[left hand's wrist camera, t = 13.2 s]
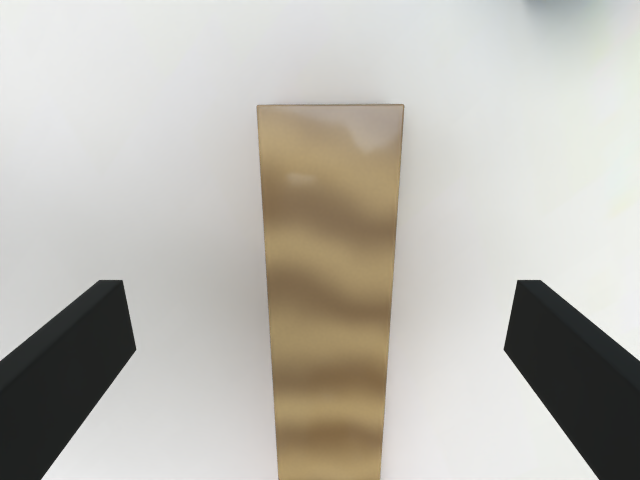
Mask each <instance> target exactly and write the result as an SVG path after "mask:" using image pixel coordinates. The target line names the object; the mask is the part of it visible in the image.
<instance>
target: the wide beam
mask: <svg viewBox="0 0 640 480" xmlns="http://www.w3.org/2000/svg"><path fill="white" fill-rule="evenodd" d="M403 118H404V104H279V105H257V121H258V138H259V155H260V172H261V189H262V206H263V223H264V240H265V257H266V274H267V291H268V309H269V326H270V343H271V360H272V377H273V394H274V411H275V428H276V445H277V462H278V479H279V480H380V471H381V456H382V441H383V425H384V410H385V395H386V379H387V364H388V349H389V333H390V318H391V302H392V287H393V272H394V256H395V241H396V226H397V210H398V195H399V180H400V164H401V149H402V134H403Z"/></svg>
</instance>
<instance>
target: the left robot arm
mask: <svg viewBox="0 0 640 480" xmlns="http://www.w3.org/2000/svg"><path fill="white" fill-rule="evenodd" d="M135 351H136V346H135V341H134V336H133V330H132V325H131V320H130V315H129V310H128V305H127V300H126V295H125V290H124V285H123V280H99V281H98V282H97V283H95V284H94V285H93V286H92V287H90V288H89V289H88V290H87V291H86V292H84V293H83V294H82V295H81V296H79V297H78V298H77V299H76V300H75V301H73V302H72V303H71V304H70V305H68V306H67V307H66V308H65V309H64V310H62V311H61V312H60V313H59V314H57V315H56V316H55V317H54V318H53V319H51V320H50V321H49V322H48V323H46V324H45V325H44V326H43V327H42V328H40V329H39V330H38V331H37V332H35V333H34V334H33V335H32V336H31V337H29V338H28V339H27V340H26V341H24V342H23V343H22V344H21V345H20V346H18V347H17V348H16V349H15V350H13V351H12V352H11V353H10V354H9V355H7V356H6V357H5V358H4V359H2V360H1V361H0V480H41V479H42V477H43V476H44V475H45V473H46V472H47V471H48V469H49V468H50V467H51V465H52V464H53V462H54V461H55V460H56V458H57V457H58V456H59V454H60V453H61V452H62V450H63V449H64V447H65V446H66V445H67V443H68V442H69V441H70V439H71V438H72V437H73V435H74V434H75V433H76V431H77V430H78V428H79V427H80V426H81V424H82V423H83V422H84V420H85V419H86V418H87V416H88V415H89V413H90V412H91V411H92V409H93V408H94V407H95V405H96V404H97V403H98V401H99V400H100V398H101V397H102V396H103V394H104V393H105V392H106V390H107V389H108V388H109V386H110V385H111V384H112V382H113V381H114V379H115V378H116V377H117V375H118V374H119V373H120V371H121V370H122V369H123V367H124V366H125V364H126V363H127V362H128V360H129V359H130V358H131V356H132V355H133V354H134V352H135ZM504 351H505V352H506V354H507V355H508V356H509V358H510V359H511V360H512V362H513V363H514V364H515V366H516V367H517V369H518V370H519V371H520V373H521V374H522V375H523V377H524V378H525V379H526V381H527V382H528V384H529V385H530V386H531V388H532V389H533V390H534V392H535V393H536V394H537V396H538V397H539V398H540V400H541V401H542V403H543V404H544V405H545V407H546V408H547V409H548V411H549V412H550V413H551V415H552V416H553V418H554V419H555V420H556V422H557V423H558V424H559V426H560V427H561V428H562V430H563V431H564V433H565V434H566V435H567V437H568V438H569V439H570V441H571V442H572V443H573V445H574V446H575V447H576V449H577V450H578V452H579V453H580V454H581V456H582V457H583V458H584V460H585V461H586V462H587V464H588V465H589V467H590V468H591V469H592V471H593V472H594V473H595V475H596V476H597V477H598V479H599V480H640V361H639V360H638V359H636V358H635V357H634V356H633V355H631V354H630V353H629V352H628V351H627V350H625V349H624V348H623V347H622V346H620V345H619V344H618V343H617V342H616V341H614V340H613V339H612V338H611V337H609V336H608V335H607V334H606V333H605V332H603V331H602V330H601V329H600V328H598V327H597V326H596V325H595V324H594V323H592V322H591V321H590V320H589V319H587V318H586V317H585V316H584V315H583V314H581V313H580V312H579V311H578V310H576V309H575V308H574V307H573V306H572V305H570V304H569V303H568V302H567V301H565V300H564V299H563V298H562V297H561V296H559V295H558V294H557V293H556V292H554V291H553V290H552V289H551V288H550V287H548V286H547V285H546V284H545V283H543V282H542V281H541V280H517V285H516V290H515V295H514V300H513V305H512V310H511V315H510V320H509V325H508V330H507V335H506V341H505V346H504Z"/></svg>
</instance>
